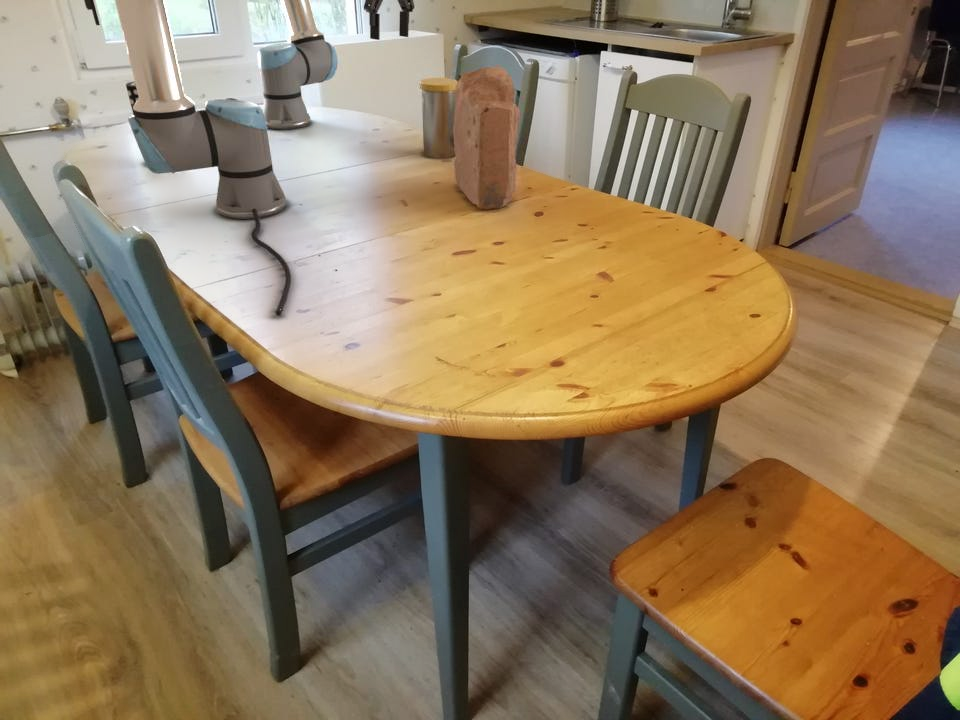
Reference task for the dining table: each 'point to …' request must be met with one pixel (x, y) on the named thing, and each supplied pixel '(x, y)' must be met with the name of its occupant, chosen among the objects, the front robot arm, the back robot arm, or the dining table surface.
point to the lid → (438, 84)
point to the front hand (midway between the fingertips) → (128, 23)
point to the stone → (485, 137)
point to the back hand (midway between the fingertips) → (389, 37)
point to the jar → (438, 123)
